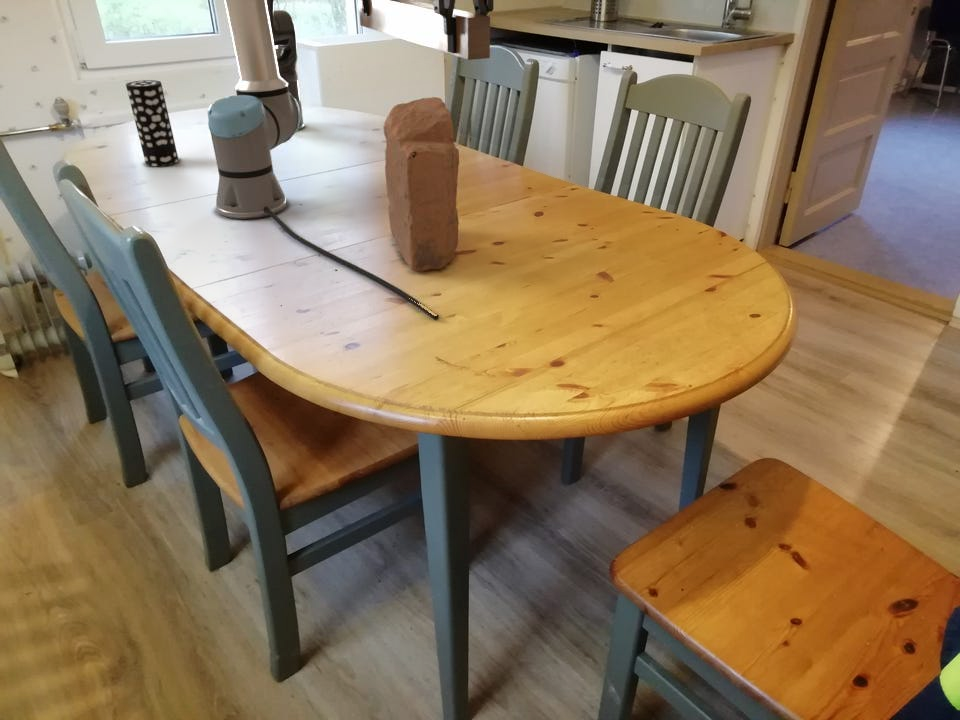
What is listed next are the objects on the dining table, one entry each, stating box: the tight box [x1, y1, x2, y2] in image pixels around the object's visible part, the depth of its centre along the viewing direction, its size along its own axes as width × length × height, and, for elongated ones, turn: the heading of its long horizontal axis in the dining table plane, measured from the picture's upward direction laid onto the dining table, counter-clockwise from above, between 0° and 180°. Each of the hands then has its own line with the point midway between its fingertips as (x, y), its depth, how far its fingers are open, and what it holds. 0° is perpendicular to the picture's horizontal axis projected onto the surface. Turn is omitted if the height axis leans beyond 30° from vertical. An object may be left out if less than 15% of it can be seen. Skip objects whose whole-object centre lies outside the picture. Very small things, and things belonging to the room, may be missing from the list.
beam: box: [358, 0, 491, 61], centre depth 161 cm, size 62×5×8 cm, turn 28°
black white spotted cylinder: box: [125, 79, 179, 167], centre depth 181 cm, size 8×8×20 cm
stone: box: [383, 96, 460, 272], centre depth 131 cm, size 22×11×28 cm, turn 18°
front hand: (464, 50), depth 144 cm, fingers closed on beam, 5 cm apart
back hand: (376, 14), depth 179 cm, fingers closed on beam, 5 cm apart
